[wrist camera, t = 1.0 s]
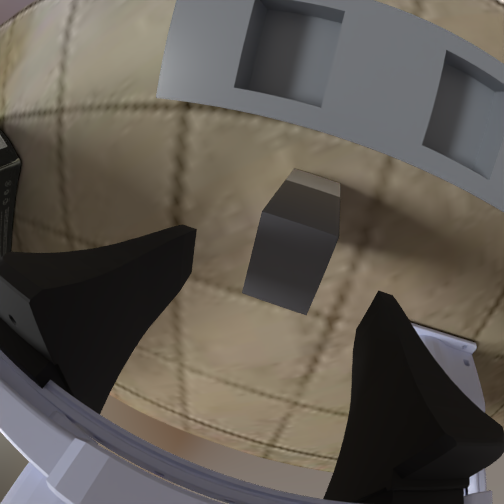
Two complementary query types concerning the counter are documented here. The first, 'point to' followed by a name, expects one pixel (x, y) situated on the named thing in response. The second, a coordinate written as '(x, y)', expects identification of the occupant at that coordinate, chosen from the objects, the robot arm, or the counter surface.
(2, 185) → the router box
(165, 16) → the counter surface
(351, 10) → the power strip
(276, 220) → the plug
